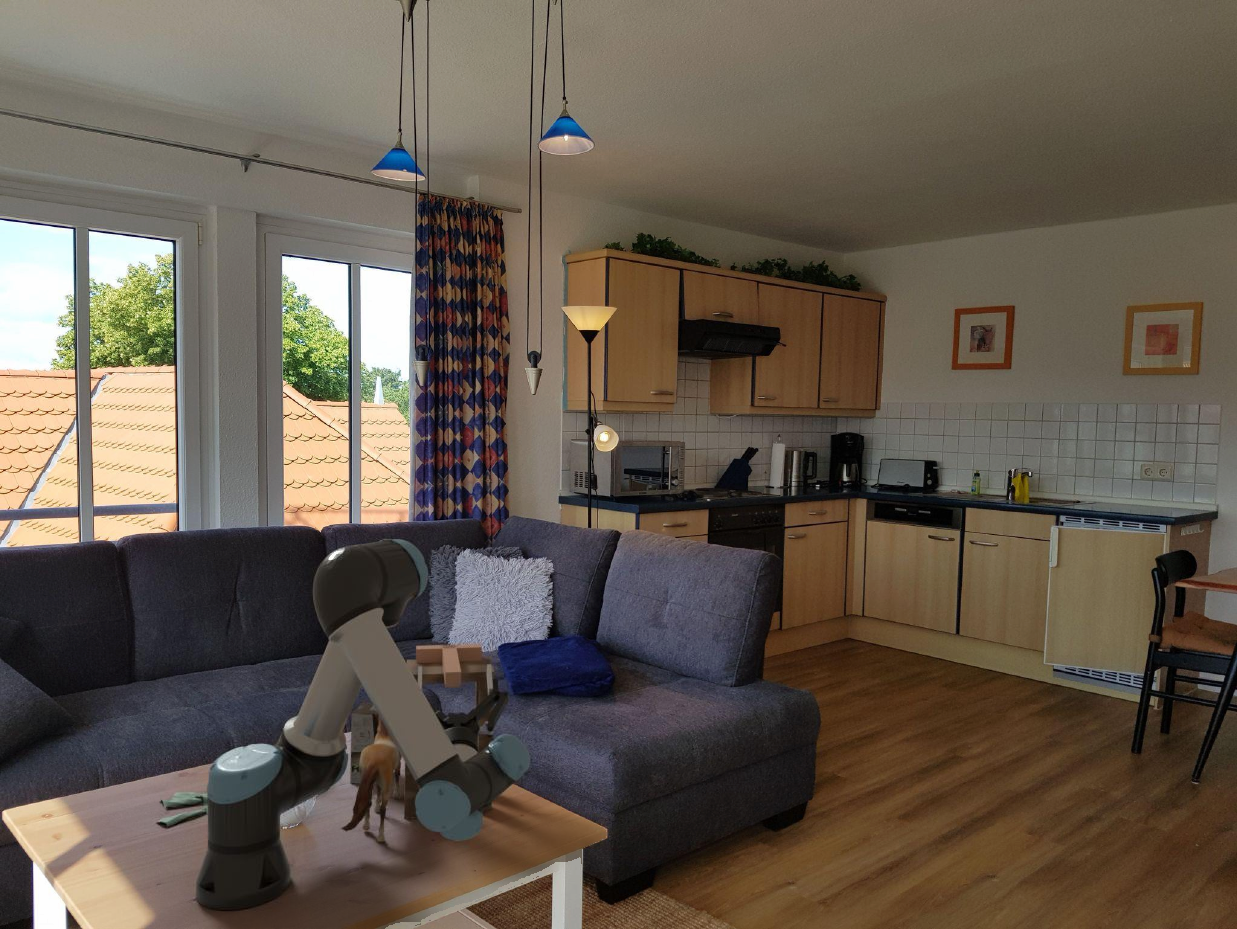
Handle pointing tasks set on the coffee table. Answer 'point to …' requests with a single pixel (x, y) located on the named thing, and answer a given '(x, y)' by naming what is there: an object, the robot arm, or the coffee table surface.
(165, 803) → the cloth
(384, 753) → the horse figurine
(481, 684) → the walnut table
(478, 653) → the terracotta T
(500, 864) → the coffee table surface
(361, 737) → the coffee box
